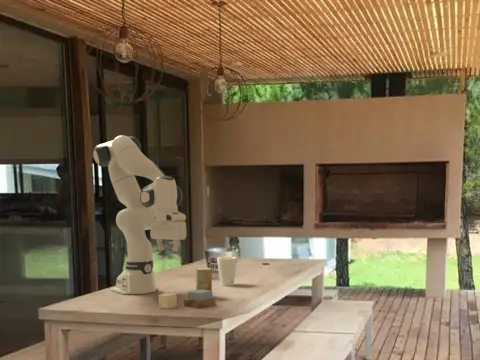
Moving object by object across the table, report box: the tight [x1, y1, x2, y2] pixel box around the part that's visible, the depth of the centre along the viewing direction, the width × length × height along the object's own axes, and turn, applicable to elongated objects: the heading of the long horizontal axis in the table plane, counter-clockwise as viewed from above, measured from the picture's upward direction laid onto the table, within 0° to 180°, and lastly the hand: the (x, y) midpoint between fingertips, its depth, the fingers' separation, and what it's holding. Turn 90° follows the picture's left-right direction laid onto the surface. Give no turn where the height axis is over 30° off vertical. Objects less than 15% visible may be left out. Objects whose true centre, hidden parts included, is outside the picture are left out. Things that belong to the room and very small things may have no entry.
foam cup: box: [216, 256, 238, 287], centre depth 272 cm, size 10×9×13 cm
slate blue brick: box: [187, 289, 213, 301], centre depth 226 cm, size 7×7×3 cm
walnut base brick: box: [183, 297, 217, 309], centre depth 226 cm, size 9×9×3 cm
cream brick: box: [158, 292, 178, 310], centre depth 224 cm, size 5×5×5 cm
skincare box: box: [195, 267, 213, 292], centre depth 243 cm, size 6×4×12 cm
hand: (168, 250), depth 225 cm, fingers open, 8 cm apart
